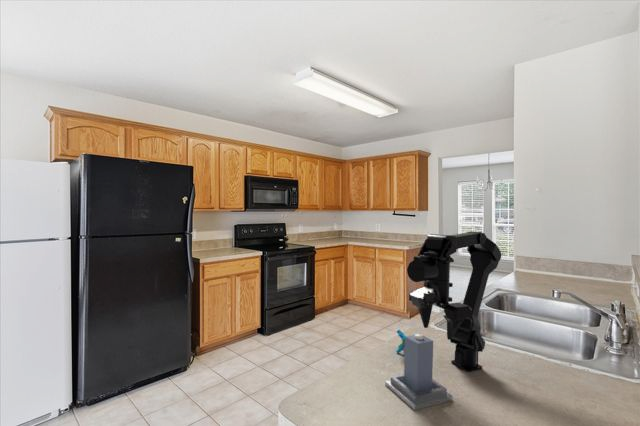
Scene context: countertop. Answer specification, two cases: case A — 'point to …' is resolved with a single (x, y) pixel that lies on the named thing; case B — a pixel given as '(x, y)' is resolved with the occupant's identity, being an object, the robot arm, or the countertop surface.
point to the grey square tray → (419, 399)
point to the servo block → (418, 363)
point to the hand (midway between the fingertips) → (437, 333)
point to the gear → (402, 341)
